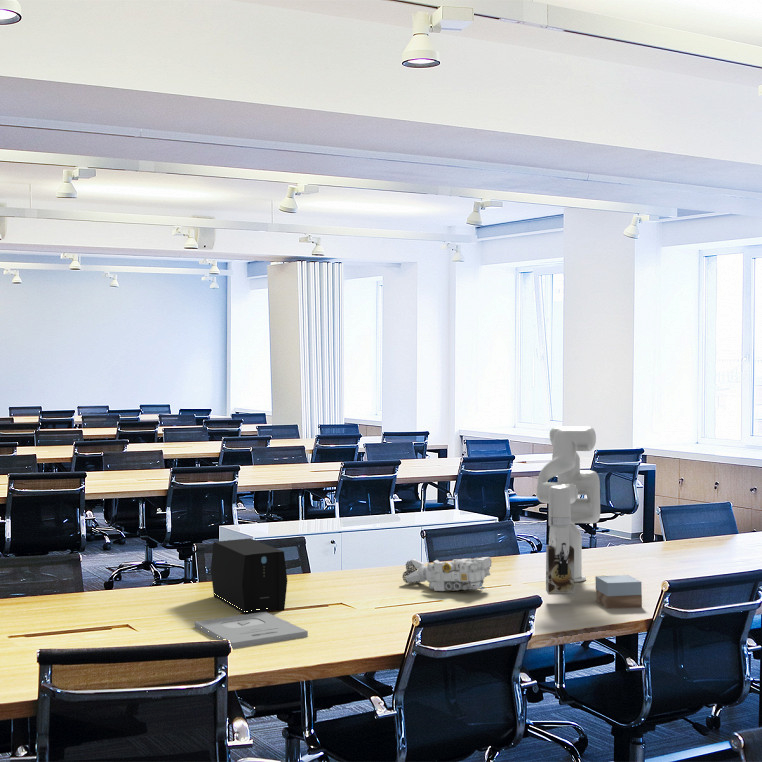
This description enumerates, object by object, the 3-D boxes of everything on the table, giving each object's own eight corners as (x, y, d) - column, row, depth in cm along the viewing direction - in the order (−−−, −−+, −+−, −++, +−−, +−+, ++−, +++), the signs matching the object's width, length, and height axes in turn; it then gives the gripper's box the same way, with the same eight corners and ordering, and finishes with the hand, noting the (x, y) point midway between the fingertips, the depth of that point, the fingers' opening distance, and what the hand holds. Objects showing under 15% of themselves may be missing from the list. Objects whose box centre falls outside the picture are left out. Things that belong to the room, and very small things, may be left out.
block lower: (596, 601, 345) (596, 588, 345) (629, 600, 346) (629, 587, 346) (607, 609, 333) (607, 596, 333) (641, 608, 334) (641, 595, 334)
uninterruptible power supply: (242, 615, 326) (241, 555, 326) (209, 596, 356) (209, 541, 356) (287, 609, 334) (287, 551, 334) (251, 591, 363) (251, 537, 363)
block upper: (595, 589, 345) (595, 576, 345) (628, 587, 346) (628, 574, 346) (607, 596, 333) (607, 583, 333) (641, 594, 334) (641, 581, 334)
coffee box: (548, 595, 338) (547, 548, 338) (545, 590, 345) (545, 545, 344) (574, 595, 338) (574, 548, 338) (571, 590, 344) (571, 544, 344)
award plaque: (232, 650, 285) (232, 642, 285) (194, 628, 311) (194, 621, 311) (307, 638, 298) (307, 630, 298) (265, 618, 324) (265, 611, 324)
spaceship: (479, 594, 350) (476, 561, 350) (395, 593, 368) (392, 561, 368) (497, 586, 363) (494, 554, 364) (415, 586, 381) (412, 555, 382)
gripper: (542, 517, 349) (543, 567, 349) (555, 525, 332) (556, 578, 332) (563, 517, 350) (563, 566, 350) (577, 525, 332) (577, 577, 333)
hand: (560, 572), depth 341 cm, fingers closed on coffee box, 6 cm apart
